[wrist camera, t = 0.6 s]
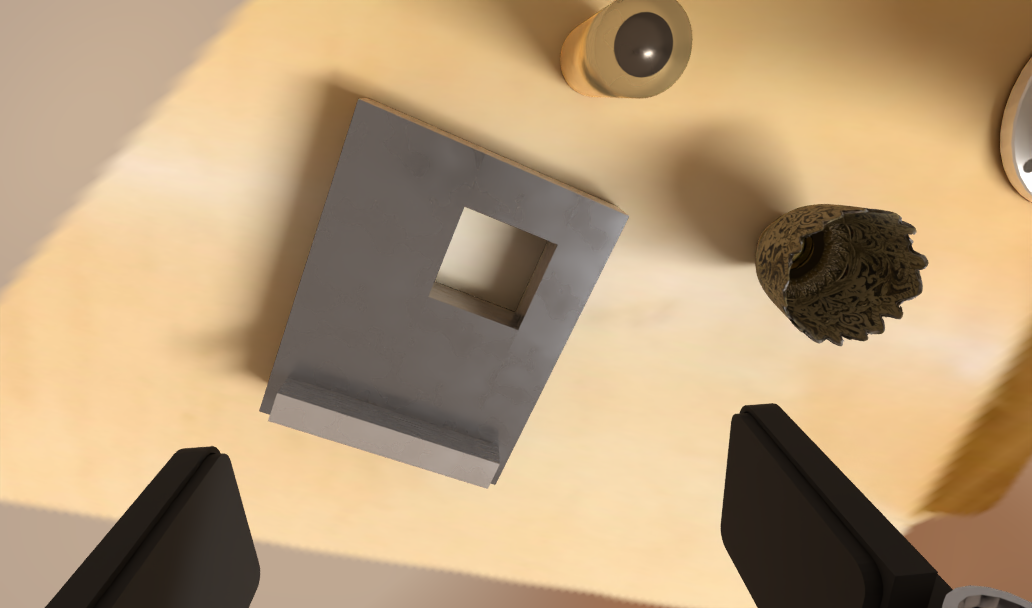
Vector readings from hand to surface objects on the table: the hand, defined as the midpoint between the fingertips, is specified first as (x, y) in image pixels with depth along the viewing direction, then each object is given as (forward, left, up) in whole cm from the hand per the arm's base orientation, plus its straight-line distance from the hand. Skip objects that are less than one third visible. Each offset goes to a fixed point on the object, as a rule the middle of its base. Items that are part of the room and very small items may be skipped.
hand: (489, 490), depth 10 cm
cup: (-19, -6, -26) cm, 32 cm away
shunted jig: (0, +6, -26) cm, 27 cm away
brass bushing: (-3, -11, -26) cm, 28 cm away
